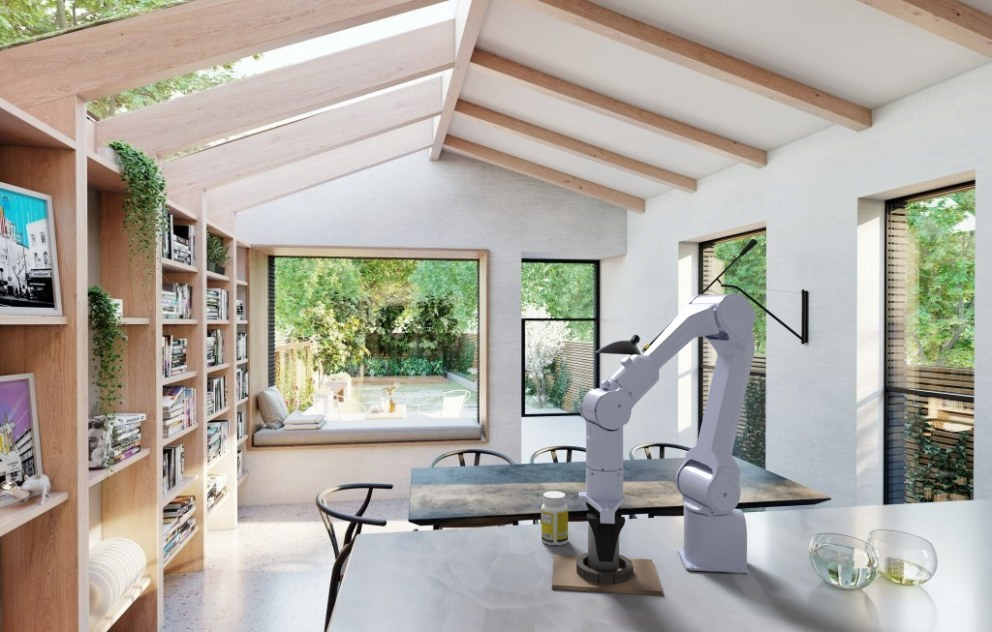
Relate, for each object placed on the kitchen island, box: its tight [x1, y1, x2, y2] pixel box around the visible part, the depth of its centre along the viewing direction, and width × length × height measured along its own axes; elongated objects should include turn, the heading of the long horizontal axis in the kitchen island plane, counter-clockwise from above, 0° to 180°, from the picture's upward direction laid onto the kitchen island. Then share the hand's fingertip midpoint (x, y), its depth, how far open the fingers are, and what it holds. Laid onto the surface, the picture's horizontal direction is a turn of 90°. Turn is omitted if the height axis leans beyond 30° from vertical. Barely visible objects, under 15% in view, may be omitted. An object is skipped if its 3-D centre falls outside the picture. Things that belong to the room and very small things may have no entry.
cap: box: [587, 524, 620, 572], centre depth 92 cm, size 5×5×6 cm
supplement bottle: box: [540, 490, 569, 546], centre depth 106 cm, size 5×5×8 cm
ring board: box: [551, 552, 664, 596], centre depth 92 cm, size 16×11×2 cm
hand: (604, 553), depth 92 cm, fingers closed on cap, 5 cm apart
